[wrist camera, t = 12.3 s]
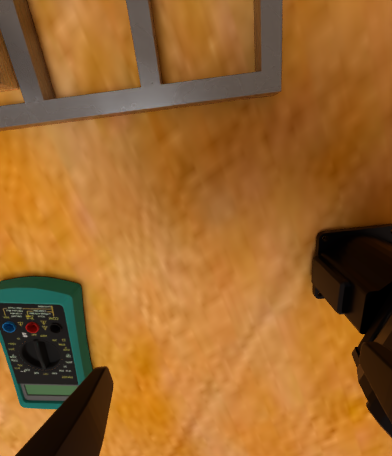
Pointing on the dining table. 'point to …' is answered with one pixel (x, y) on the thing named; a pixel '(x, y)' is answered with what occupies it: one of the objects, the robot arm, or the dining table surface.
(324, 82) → the dining table surface
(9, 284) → the digital multimeter
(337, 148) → the dining table surface
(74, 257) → the dining table surface
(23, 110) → the rail frame
